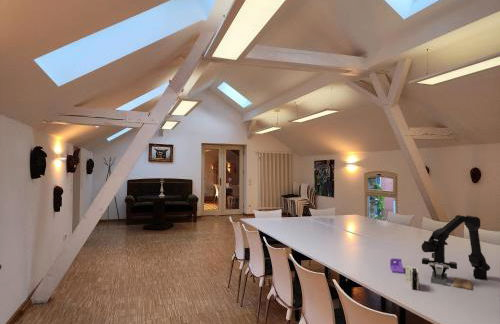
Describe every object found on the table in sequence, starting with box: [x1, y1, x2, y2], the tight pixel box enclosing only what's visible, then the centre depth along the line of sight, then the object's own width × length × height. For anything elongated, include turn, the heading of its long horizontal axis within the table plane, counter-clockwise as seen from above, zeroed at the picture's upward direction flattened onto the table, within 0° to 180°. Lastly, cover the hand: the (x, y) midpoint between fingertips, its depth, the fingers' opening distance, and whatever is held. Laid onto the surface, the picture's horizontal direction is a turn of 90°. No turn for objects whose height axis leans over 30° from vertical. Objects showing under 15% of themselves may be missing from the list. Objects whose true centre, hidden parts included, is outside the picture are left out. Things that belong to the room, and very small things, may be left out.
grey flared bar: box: [435, 266, 443, 279], centre depth 199 cm, size 3×8×8 cm, turn 148°
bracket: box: [389, 257, 405, 275], centre depth 218 cm, size 12×7×7 cm, turn 163°
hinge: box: [405, 265, 420, 291], centre depth 189 cm, size 14×5×10 cm, turn 168°
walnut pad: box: [452, 277, 473, 291], centre depth 193 cm, size 9×16×1 cm, turn 148°
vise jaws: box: [430, 270, 448, 286], centre depth 199 cm, size 8×16×3 cm, turn 148°
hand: (439, 277), depth 199 cm, fingers closed on grey flared bar, 3 cm apart
